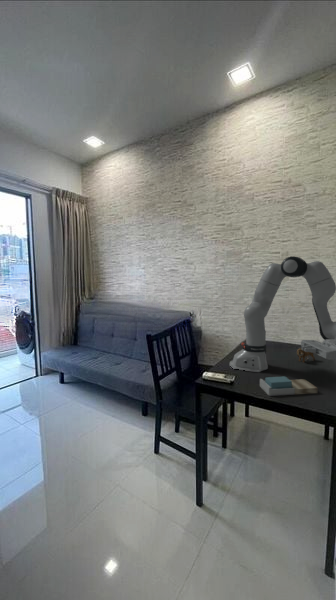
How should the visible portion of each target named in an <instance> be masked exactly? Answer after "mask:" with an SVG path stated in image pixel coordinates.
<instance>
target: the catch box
mask: <svg viewBox="0 0 336 600" xmlns="http://www.w3.org/2000/svg"><path fill="white" fill-rule="evenodd" d="M259 387H260V388H261V390H262V391H264V393H265V394H267V396H269V397H272V396H273V397H274V396H275V397H276V396H290V395H291V396H292V395H296V394H295V388H282V389H271V387H270V386H269V385H268V384H267V383H266V382H265V379H263V378H259Z"/></svg>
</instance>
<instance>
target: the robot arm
mask: <svg viewBox="0 0 336 600" xmlns="http://www.w3.org/2000/svg"><path fill="white" fill-rule="evenodd" d="M287 277H289V278H299V277H303V279H305V281H306V283H307V286H308V287H309V289H310V291H311V292H310V293H311V302H312V306H313V310H314V313H315V317H316V319H317V323H318V327H319V328H318V329H319V335H320V337H321V338H322V339H323V340H322V342H320V341H317V340H316V339H315V340H313V339H303V340H301V341H300V348H301V349H302V350H303V351H305V352H312V353H313V354H315V355H317V356H319V357H321V358H323V359H325V360H329V361H336V321H333V320H332V318H331V315H330V311H329V309H328V303H329V301H330V299H331V298H332V297H334V295H335V293H336V282H335V280H334V278H333V275H332V274H331V272H330V271H329V269H328V268H327V267H326V265H325V264H324V262H322V261H312V262H308V263H307V262H306V260H304V259H303V258H301V257H300V256H295V255H294V256H288V257H286V258H285V259H283V260H282V261H281V263H278V262H276V263H275V262H273V263H269V264H268V266H267V267H266V269H265V270H264V272H263V273H262V275H261V277H260V280H259V281H258V284H257V285H256V288H255V290H254V294H253V298H252V300H251V303H250V304H248V306H246V307H245V308H244V311H243V317H244V318H243V319H244V324H245V325H244V326H245V331H246V332H245V333H246V336H245V339H246V340H245V342H241V346H242V349H240V350H239V351H238V352H236V353H234V356H233V359H232V360H231V361H229V367H230V366H231V367H232V368H233V369H232V368H231V367H230V368H231V369H232V370H234V369H239V370H238V371H243V370H245V371H247V372H252V373H261V372H263V371H266V370H268V369H269V366H268V362H267V344H266V334H267V333H266V332H267V331H266V326H265V325H266V324H265V318H266V317H267V316H268V313H269V312H270V311H269V310H270V308H271V307H272V303H273V301H274V299H275V296H276V294H277V292H278V291H279V288H280V286H281V284H282V282H283V280H284V279H285V278H287ZM245 371H244V372H245Z"/></svg>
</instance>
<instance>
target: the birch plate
mask: <svg viewBox="0 0 336 600" xmlns="http://www.w3.org/2000/svg"><path fill="white" fill-rule="evenodd" d="M290 380H291V381H292V388H295V394H294V395H306V394H307V395H310V394H318V387H317V386H315V384H313V383H311V382H309V381H308V380H306V379H305V378H300V379H290Z"/></svg>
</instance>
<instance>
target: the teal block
mask: <svg viewBox="0 0 336 600" xmlns="http://www.w3.org/2000/svg"><path fill="white" fill-rule="evenodd" d="M291 380H292V379H289V378H288V377H287V376H285V375H284V376H283V375H282V376H269V377H267V376H266V377H265V378H264V381H265V382H266V383H267V384H268V385H269V386H270V387H271V389H282V388H292V381H291Z"/></svg>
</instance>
